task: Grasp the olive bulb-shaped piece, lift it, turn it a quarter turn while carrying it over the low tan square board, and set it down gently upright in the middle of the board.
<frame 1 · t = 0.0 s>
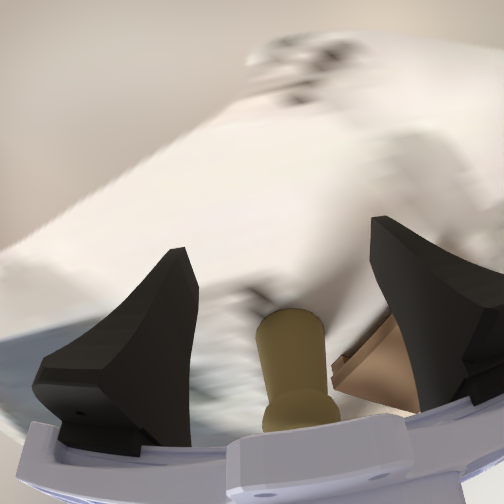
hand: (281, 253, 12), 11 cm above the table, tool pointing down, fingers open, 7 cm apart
tan square board: (415, 341, 28), on the table
olive bulb-shaped piece: (290, 334, 27), on the table
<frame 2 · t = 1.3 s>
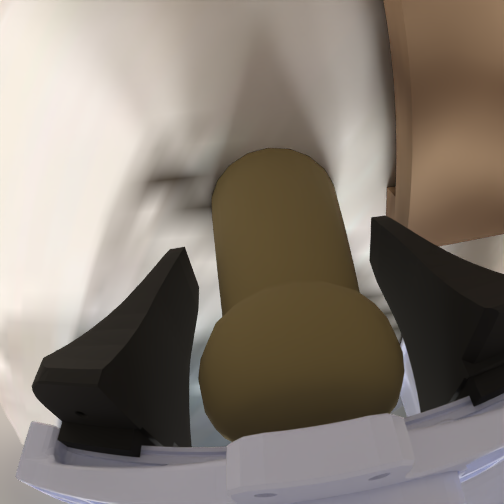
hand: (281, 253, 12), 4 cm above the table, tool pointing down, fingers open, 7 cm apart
tan square board: (487, 97, 11), on the table
olive bulb-shaped piece: (274, 206, 15), on the table
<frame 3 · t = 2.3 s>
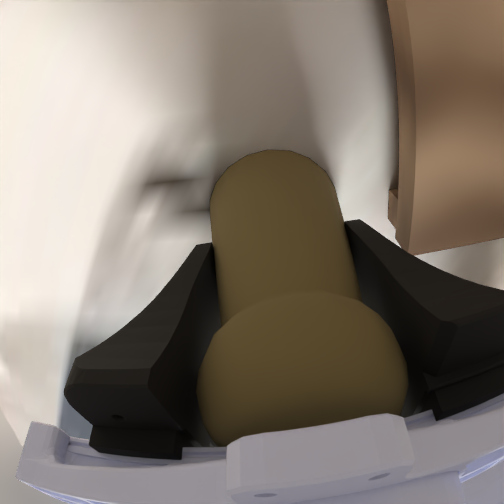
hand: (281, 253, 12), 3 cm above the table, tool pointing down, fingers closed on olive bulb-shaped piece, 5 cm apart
tan square board: (490, 98, 11), on the table
olive bulb-shaped piece: (274, 209, 15), on the table, touching gripper
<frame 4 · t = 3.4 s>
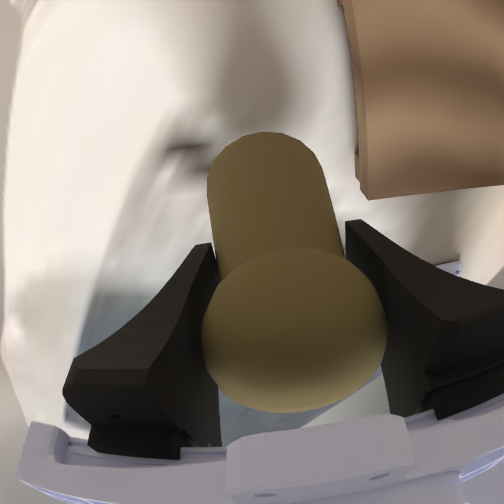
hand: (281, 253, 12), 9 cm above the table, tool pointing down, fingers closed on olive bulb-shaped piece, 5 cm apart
tan square board: (437, 80, 16), on the table
olive bulb-shaped piece: (265, 186, 16), point 3 cm above the table, touching gripper
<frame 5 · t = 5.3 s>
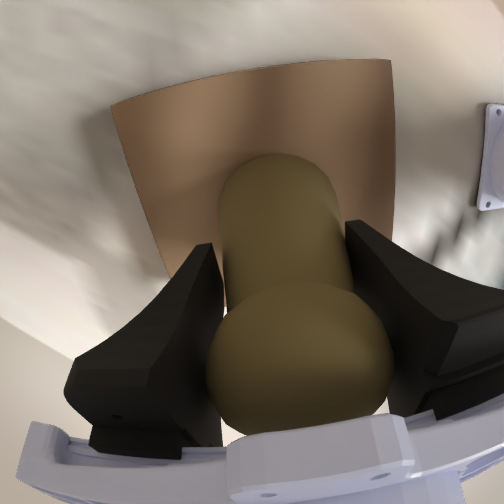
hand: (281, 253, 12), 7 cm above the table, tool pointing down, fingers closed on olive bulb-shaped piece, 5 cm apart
tan square board: (268, 179, 18), on the table
olive bulb-shaped piece: (277, 209, 16), point 3 cm above the table, touching gripper, tan square board
when the fingers open (7 cm above the table, at t = 6.1 s): olive bulb-shaped piece stays where it is, resting on tan square board.
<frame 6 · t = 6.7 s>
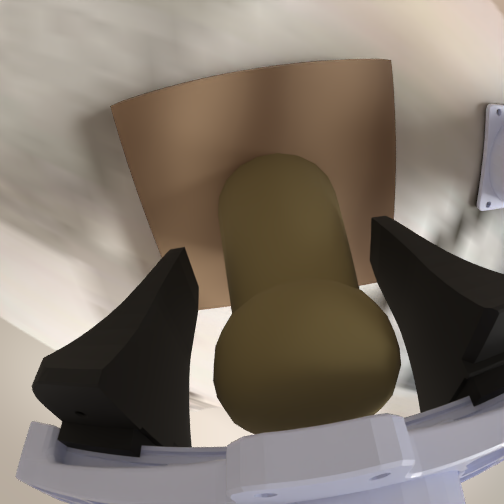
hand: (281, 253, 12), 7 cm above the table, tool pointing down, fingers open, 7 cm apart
tan square board: (268, 179, 18), on the table
olive bulb-shaped piece: (277, 208, 16), point 3 cm above the table, touching tan square board
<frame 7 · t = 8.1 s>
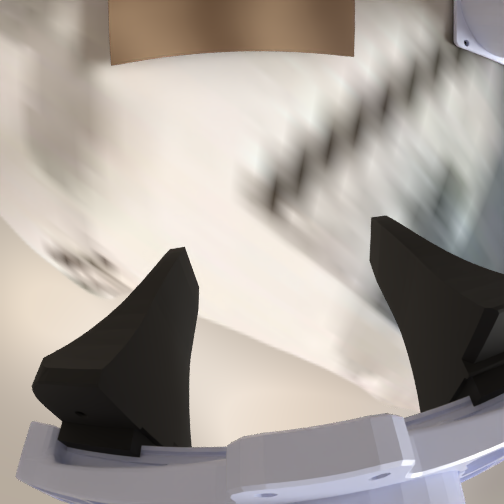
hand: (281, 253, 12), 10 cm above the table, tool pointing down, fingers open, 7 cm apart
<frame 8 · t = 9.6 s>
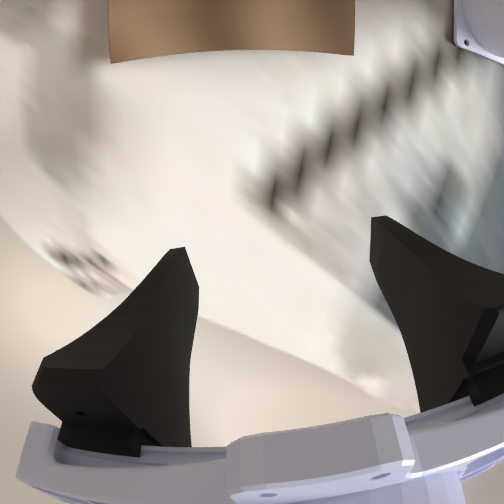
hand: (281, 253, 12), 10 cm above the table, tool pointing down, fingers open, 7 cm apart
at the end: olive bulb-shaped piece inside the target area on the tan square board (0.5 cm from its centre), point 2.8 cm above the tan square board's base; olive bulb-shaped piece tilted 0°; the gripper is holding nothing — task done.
